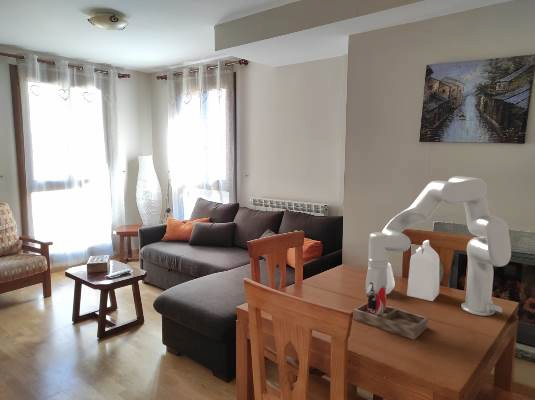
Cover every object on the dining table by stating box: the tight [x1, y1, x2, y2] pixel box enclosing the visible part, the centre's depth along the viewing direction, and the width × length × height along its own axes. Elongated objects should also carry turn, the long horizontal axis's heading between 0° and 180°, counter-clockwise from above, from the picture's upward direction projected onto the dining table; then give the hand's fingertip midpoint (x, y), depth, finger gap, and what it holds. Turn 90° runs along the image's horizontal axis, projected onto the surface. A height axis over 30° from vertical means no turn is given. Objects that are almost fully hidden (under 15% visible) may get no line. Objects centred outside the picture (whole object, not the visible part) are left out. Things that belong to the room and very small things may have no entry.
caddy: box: [352, 300, 429, 340], centre depth 151 cm, size 25×13×4 cm, turn 47°
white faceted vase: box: [386, 262, 396, 295], centre depth 185 cm, size 13×13×14 cm
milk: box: [406, 239, 440, 302], centre depth 180 cm, size 12×12×26 cm
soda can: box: [367, 286, 387, 316], centre depth 154 cm, size 7×7×12 cm
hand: (376, 305), depth 154 cm, fingers closed on soda can, 7 cm apart
